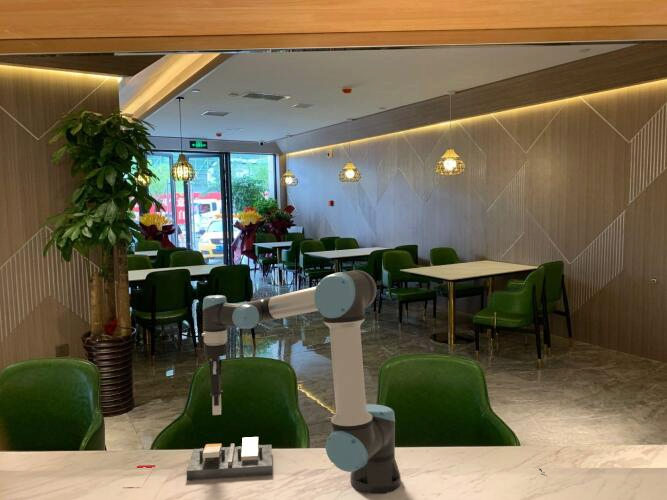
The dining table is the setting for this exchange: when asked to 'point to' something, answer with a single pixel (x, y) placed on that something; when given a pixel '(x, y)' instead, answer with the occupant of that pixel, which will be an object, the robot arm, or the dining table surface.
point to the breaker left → (212, 450)
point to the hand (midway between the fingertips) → (216, 414)
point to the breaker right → (250, 448)
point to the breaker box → (229, 464)
